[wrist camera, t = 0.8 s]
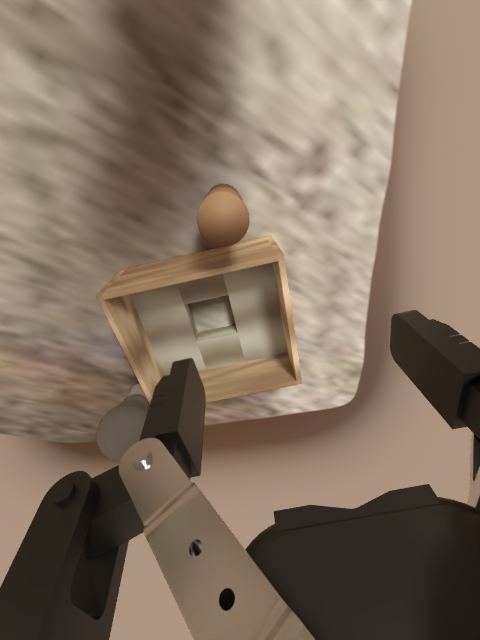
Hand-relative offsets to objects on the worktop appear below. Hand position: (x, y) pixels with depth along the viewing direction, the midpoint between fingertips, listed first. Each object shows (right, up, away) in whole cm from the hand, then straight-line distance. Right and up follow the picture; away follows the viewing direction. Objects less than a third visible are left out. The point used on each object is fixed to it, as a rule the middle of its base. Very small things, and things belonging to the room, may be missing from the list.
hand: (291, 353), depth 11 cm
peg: (-4, +13, +16) cm, 21 cm away
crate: (-5, +2, +21) cm, 22 cm away
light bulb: (-15, -8, +26) cm, 31 cm away
